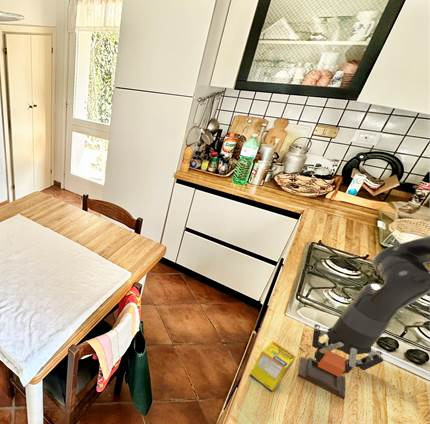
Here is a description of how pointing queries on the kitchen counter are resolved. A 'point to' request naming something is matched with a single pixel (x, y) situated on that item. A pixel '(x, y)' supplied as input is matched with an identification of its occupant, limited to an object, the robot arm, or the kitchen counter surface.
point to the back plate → (321, 377)
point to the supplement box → (272, 365)
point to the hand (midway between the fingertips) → (329, 364)
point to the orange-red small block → (332, 363)
